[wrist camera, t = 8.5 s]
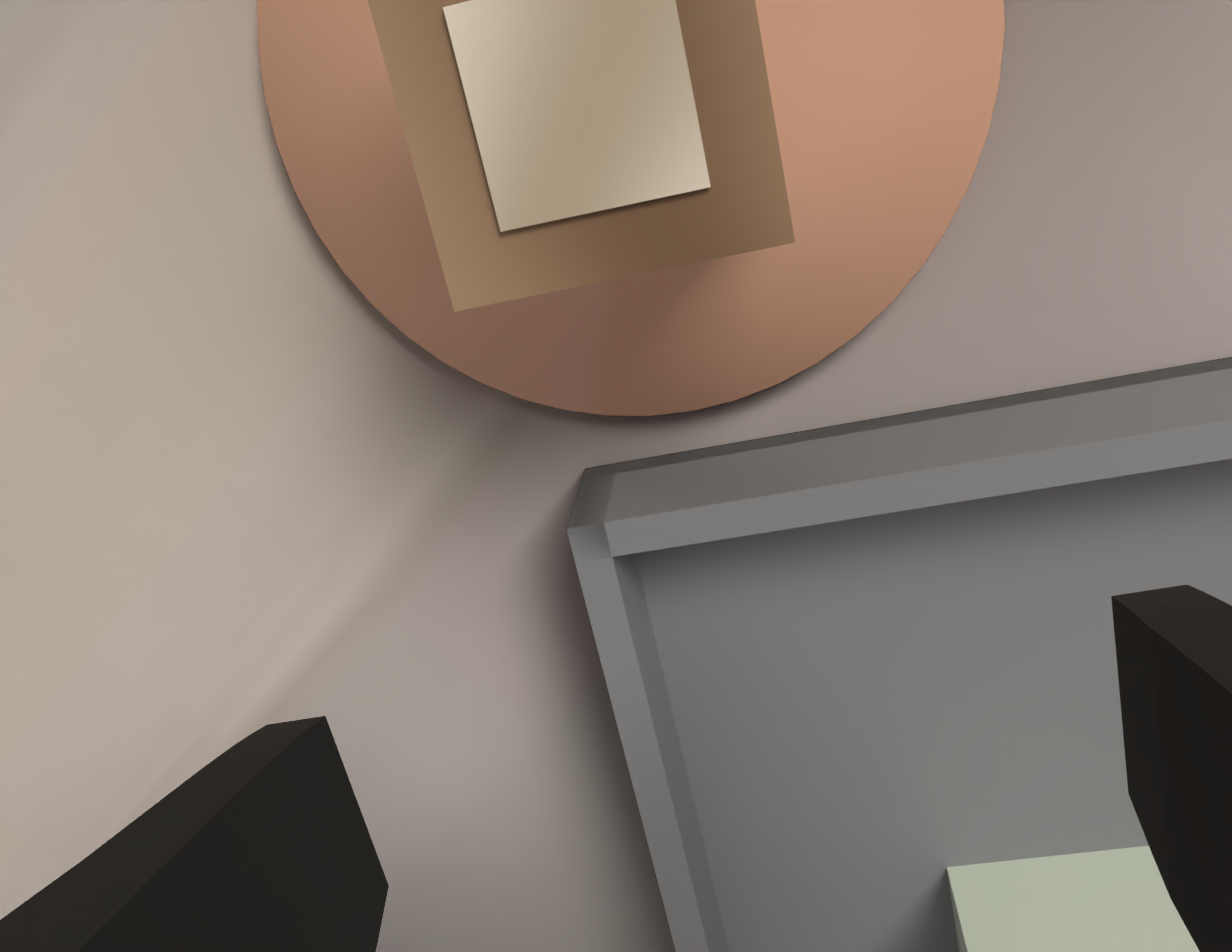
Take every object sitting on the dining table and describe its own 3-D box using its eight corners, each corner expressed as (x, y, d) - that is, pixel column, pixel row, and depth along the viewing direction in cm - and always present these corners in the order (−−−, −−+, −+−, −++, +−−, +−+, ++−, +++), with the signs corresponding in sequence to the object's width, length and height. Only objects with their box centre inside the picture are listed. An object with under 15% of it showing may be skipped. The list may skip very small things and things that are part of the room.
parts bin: (739, 1093, 25) (740, 1201, 23) (585, 468, 20) (566, 528, 18) (1438, 1040, 23) (1516, 1154, 21) (1474, 315, 18) (1585, 360, 15)
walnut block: (525, 233, 18) (452, 313, 13) (457, -40, 17) (349, -56, 12) (777, 179, 17) (796, 244, 13) (730, -109, 16) (730, -156, 11)
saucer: (388, 454, 20) (378, 467, 20) (169, -248, 16) (149, -257, 16) (1028, 338, 19) (1037, 348, 18) (950, -483, 15) (958, -502, 14)
